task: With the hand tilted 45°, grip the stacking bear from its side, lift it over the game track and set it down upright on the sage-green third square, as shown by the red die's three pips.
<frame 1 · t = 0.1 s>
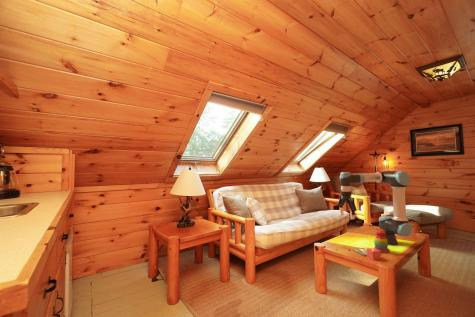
hand: (347, 217, 180), 28 cm above the table, tool pointing down, fingers open, 13 cm apart
red die: (373, 257, 167), on the table
game track: (366, 252, 178), on the table
stacking bear: (381, 251, 180), on the table
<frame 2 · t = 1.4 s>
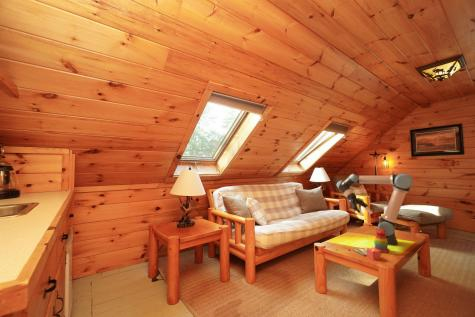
hand: (367, 214, 190), 28 cm above the table, tool tilted 45°, fingers open, 13 cm apart
nothing on the table moved.
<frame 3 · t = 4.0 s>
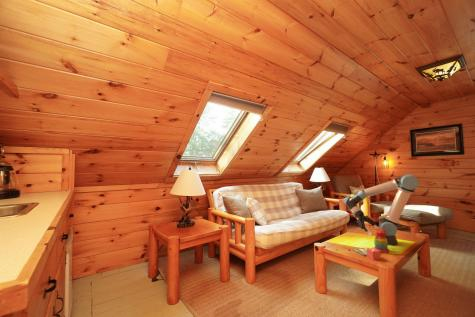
hand: (375, 233, 184), 13 cm above the table, tool tilted 45°, fingers open, 13 cm apart
nothing on the table moved.
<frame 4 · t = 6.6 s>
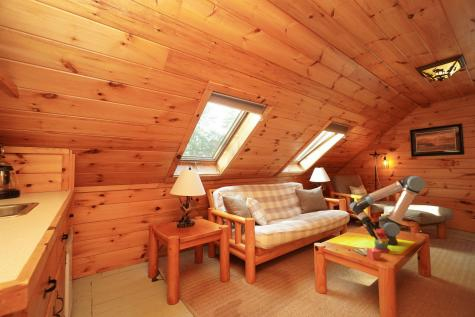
hand: (384, 242, 178), 8 cm above the table, tool tilted 45°, fingers closed on stacking bear, 9 cm apart
stacking bear: (381, 251, 180), on the table, touching gripper
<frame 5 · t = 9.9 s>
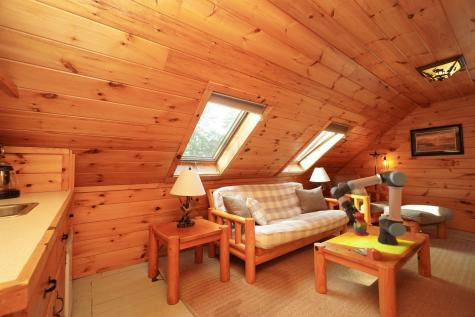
hand: (363, 225, 176), 22 cm above the table, tool tilted 45°, fingers closed on stacking bear, 9 cm apart
stacking bear: (360, 234, 178), point 14 cm above the table, touching gripper
when the fingers open (10 cm above the table, at t = 13.7 s): stacking bear drops 1 cm, resting on game track.
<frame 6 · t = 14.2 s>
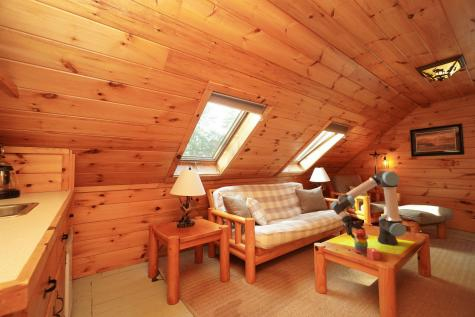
hand: (363, 240, 176), 10 cm above the table, tool tilted 45°, fingers open, 13 cm apart
stacking bear: (361, 252, 177), resting on game track
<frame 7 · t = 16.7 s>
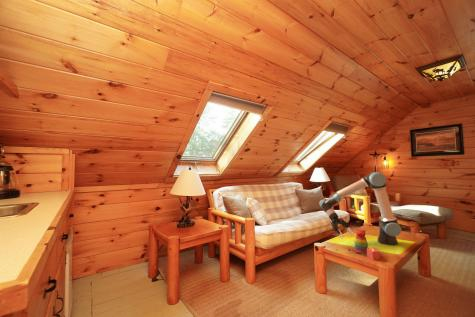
hand: (348, 235, 187), 11 cm above the table, tool tilted 45°, fingers open, 13 cm apart
nothing on the table moved.
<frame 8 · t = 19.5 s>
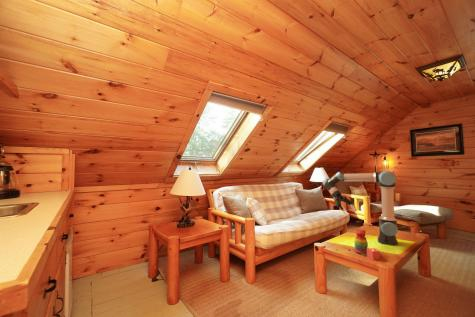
hand: (350, 211, 192), 30 cm above the table, tool tilted 45°, fingers open, 13 cm apart
nothing on the table moved.
at the end: stacking bear inside the target area (0.9 cm from its centre), point 0.5 cm above the table; stacking bear tilted 0°; the gripper is holding nothing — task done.
